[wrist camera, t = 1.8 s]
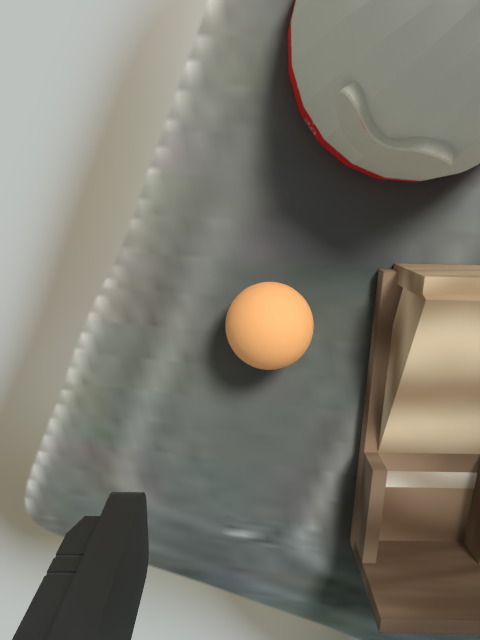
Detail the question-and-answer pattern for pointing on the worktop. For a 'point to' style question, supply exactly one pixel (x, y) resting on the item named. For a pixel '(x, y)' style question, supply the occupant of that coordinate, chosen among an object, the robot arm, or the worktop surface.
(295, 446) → the worktop surface
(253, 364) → the ball
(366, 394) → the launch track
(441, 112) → the white dome
